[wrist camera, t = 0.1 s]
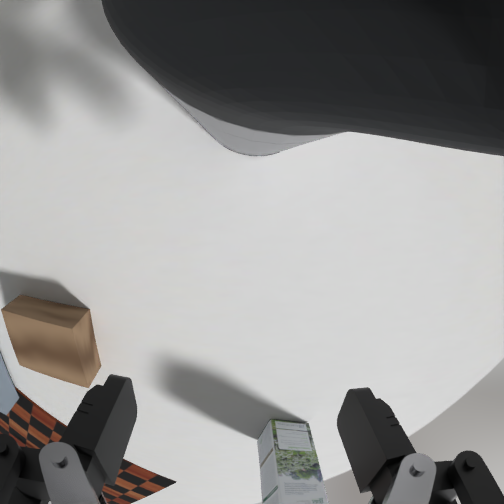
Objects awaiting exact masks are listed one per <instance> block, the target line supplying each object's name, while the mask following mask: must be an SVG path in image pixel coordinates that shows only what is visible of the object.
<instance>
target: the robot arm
mask: <svg viewBox="0 0 504 504" xmlns="http://www.w3.org/2000/svg"><path fill="white" fill-rule="evenodd" d="M102 4H103V8H104V12H105V15H106V17H107V20H108V22H109V24H110V26H111V28H112V30H113V32H114V33H115V35H116V36H117V38H118V39H119V41H120V43H121V44H122V45H123V46H124V47H125V49H126V50H127V51H128V52H129V53H130V55H131V56H132V57H133V58H134V59H135V60H136V61H137V62H138V63H139V64H140V65H141V66H142V67H143V68H144V69H145V70H146V71H147V72H148V73H149V74H150V75H151V76H152V77H153V78H154V79H155V80H156V81H158V83H159V84H160V85H161V86H162V87H163V88H164V89H165V90H166V91H167V92H168V93H169V94H171V95H172V96H173V97H174V98H175V99H176V100H177V101H178V102H179V103H180V104H181V105H182V106H183V107H184V108H185V109H186V110H187V111H188V112H189V113H190V114H191V115H192V116H193V117H194V118H195V119H196V120H197V121H198V122H199V123H200V124H201V125H202V126H203V127H204V128H205V129H206V130H207V131H208V132H209V133H210V134H211V135H212V136H213V137H214V138H215V139H216V140H217V141H218V142H219V143H220V144H221V145H223V146H224V147H225V148H227V149H229V150H231V151H234V152H236V153H239V154H243V155H249V156H265V155H271V154H275V153H279V152H280V151H283V150H287V149H290V148H293V147H296V146H299V145H303V144H306V143H309V142H312V141H316V140H319V139H323V138H326V137H330V136H333V135H336V134H340V133H344V132H348V131H349V132H358V133H366V134H372V135H379V136H385V137H391V138H397V139H403V140H409V141H414V142H419V143H425V144H431V145H437V146H442V147H448V148H454V149H460V150H466V151H473V152H479V153H486V154H492V155H500V156H504V0H102ZM81 402H82V403H80V405H79V407H78V408H77V411H76V412H75V414H74V415H73V417H72V419H71V421H70V422H69V424H68V426H67V428H66V430H65V432H64V433H63V435H62V437H61V439H60V440H59V441H58V442H52V443H49V444H47V445H46V446H44V447H43V448H42V449H36V448H29V447H22V446H19V445H18V443H17V442H16V441H15V439H14V438H13V437H11V436H10V435H7V434H0V504H48V502H49V501H51V503H52V504H108V503H107V501H106V499H105V497H104V495H103V493H102V489H103V486H104V483H105V484H108V485H112V486H114V485H115V482H116V479H117V475H118V472H119V469H120V466H121V463H122V460H123V457H124V454H125V451H126V448H127V445H128V442H129V439H130V436H131V433H132V430H133V427H134V424H135V422H136V418H137V404H136V400H135V395H134V390H133V385H132V381H131V379H130V378H128V377H123V376H117V375H113V374H111V375H109V377H108V378H107V380H106V382H105V384H104V385H103V386H101V385H96V386H94V387H93V388H92V389H90V390H89V391H88V392H87V393H86V395H85V396H84V398H83V400H82V401H81ZM337 427H338V431H339V434H340V437H341V439H342V442H343V445H344V448H345V451H346V453H347V456H348V459H349V462H350V465H351V467H352V470H353V473H354V476H355V479H356V482H357V484H358V487H359V490H360V493H364V492H368V491H371V492H372V494H373V496H372V497H371V499H370V501H369V503H368V504H457V502H456V500H455V498H456V497H458V498H459V500H460V502H461V504H504V496H503V494H502V492H501V490H500V488H499V487H498V485H497V483H496V481H495V480H494V478H493V476H492V474H491V473H490V471H489V469H488V468H487V466H486V464H485V463H484V461H483V459H482V458H481V457H480V455H478V454H477V453H475V452H473V451H463V452H461V453H460V454H458V455H457V457H456V458H455V459H454V460H453V461H442V462H434V461H433V460H432V459H431V458H430V457H429V456H427V455H425V454H421V453H416V451H415V450H414V448H413V446H412V444H411V442H410V441H409V439H408V437H407V435H406V434H405V432H404V430H403V428H402V427H401V425H399V421H398V420H397V418H395V415H394V413H393V411H392V409H391V408H390V406H389V405H388V404H386V403H385V402H384V401H383V400H381V399H376V398H375V396H374V395H373V393H372V391H371V390H370V388H368V387H367V388H357V389H350V390H348V392H347V394H346V397H345V399H344V402H343V405H342V407H341V410H340V412H339V415H338V418H337Z"/></svg>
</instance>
